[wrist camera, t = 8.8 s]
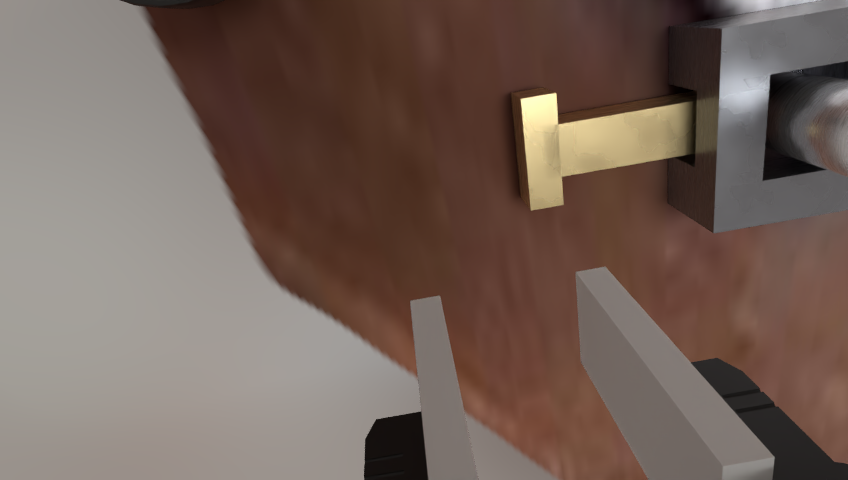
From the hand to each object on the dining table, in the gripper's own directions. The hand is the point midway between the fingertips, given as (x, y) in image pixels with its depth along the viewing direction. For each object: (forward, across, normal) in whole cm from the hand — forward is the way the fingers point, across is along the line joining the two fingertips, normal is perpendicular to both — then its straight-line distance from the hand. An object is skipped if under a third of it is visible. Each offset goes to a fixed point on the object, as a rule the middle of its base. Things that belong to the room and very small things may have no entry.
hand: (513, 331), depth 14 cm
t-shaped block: (+18, +10, 0) cm, 21 cm away
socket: (+19, +18, 0) cm, 26 cm away
